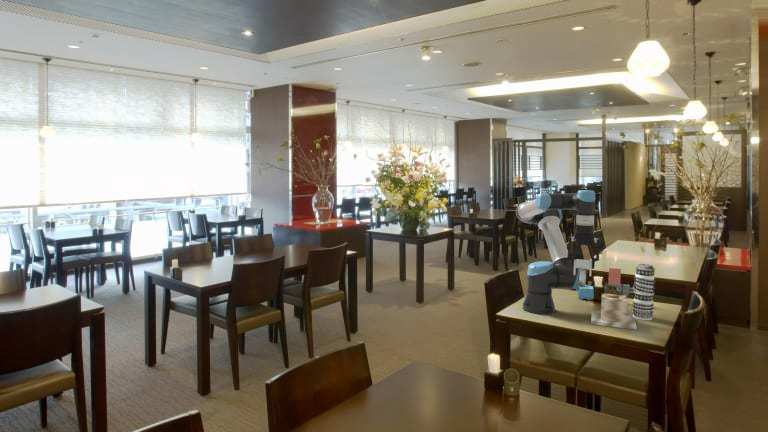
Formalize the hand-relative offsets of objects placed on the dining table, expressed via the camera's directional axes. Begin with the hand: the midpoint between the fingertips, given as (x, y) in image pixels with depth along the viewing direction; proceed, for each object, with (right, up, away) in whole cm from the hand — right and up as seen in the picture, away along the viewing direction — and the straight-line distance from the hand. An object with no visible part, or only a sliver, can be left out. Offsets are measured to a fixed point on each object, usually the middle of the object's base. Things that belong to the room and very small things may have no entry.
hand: (582, 274), depth 227 cm
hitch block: (+14, -21, 0) cm, 25 cm away
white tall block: (0, -5, +1) cm, 5 cm away
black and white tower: (+31, -21, +7) cm, 38 cm away
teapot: (+18, -18, +39) cm, 46 cm away
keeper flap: (+16, -2, +4) cm, 17 cm away
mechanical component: (+34, -19, +30) cm, 49 cm away
